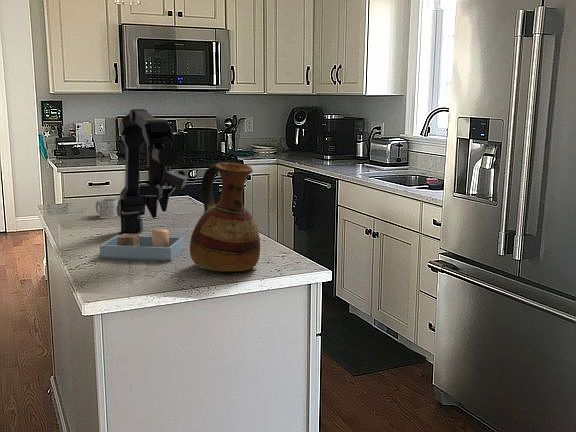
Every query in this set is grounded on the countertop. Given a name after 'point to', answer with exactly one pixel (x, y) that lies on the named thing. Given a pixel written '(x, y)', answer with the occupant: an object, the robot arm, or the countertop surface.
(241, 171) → the ceramic pitcher
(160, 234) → the brown egg
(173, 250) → the tote
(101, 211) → the mug
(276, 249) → the countertop surface
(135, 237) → the walnut block
